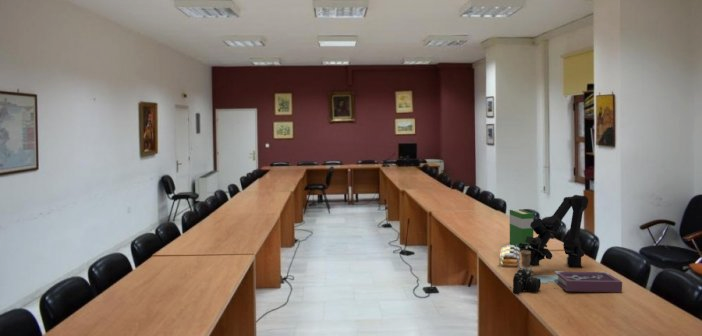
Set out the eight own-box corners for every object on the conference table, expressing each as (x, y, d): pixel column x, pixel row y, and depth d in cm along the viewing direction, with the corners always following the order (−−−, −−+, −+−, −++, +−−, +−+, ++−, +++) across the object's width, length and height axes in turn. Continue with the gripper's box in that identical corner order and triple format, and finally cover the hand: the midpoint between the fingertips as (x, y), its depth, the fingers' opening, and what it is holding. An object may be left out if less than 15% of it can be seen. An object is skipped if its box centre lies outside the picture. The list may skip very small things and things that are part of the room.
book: (605, 281, 251) (606, 271, 251) (622, 292, 235) (622, 281, 235) (553, 280, 252) (554, 271, 252) (566, 291, 236) (567, 280, 235)
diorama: (519, 269, 278) (518, 246, 277) (499, 268, 281) (499, 245, 280) (519, 258, 301) (519, 236, 300) (501, 257, 305) (501, 236, 304)
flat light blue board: (559, 277, 261) (559, 275, 261) (565, 285, 247) (565, 283, 247) (531, 276, 264) (531, 274, 264) (535, 284, 250) (535, 283, 250)
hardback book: (509, 246, 331) (509, 209, 329) (520, 245, 332) (520, 209, 330) (522, 252, 314) (521, 214, 312) (533, 251, 315) (533, 213, 313)
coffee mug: (542, 267, 279) (542, 249, 278) (525, 267, 281) (525, 249, 280) (538, 262, 290) (538, 245, 290) (523, 261, 292) (522, 244, 291)
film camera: (540, 297, 232) (540, 275, 231) (512, 295, 236) (512, 274, 235) (540, 285, 249) (540, 265, 248) (514, 283, 253) (513, 264, 252)
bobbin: (532, 271, 267) (531, 249, 264) (535, 276, 260) (533, 253, 258) (519, 272, 268) (517, 249, 266) (521, 277, 261) (519, 254, 259)
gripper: (520, 227, 272) (505, 250, 268) (548, 233, 256) (532, 257, 252) (531, 240, 277) (516, 263, 272) (559, 247, 260) (543, 271, 256)
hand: (526, 263), depth 263 cm, fingers closed on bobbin, 4 cm apart
